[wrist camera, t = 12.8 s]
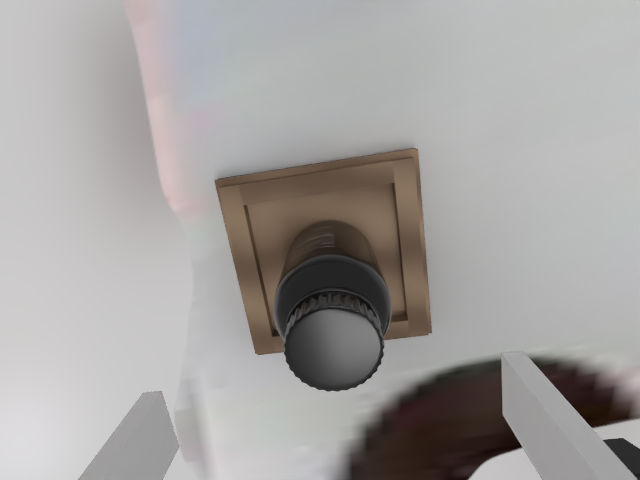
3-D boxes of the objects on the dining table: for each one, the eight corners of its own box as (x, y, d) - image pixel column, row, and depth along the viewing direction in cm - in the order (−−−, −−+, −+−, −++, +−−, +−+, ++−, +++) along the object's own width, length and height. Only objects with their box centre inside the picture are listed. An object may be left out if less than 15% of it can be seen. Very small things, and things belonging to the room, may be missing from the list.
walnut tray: (428, 326, 31) (435, 339, 29) (258, 347, 32) (253, 360, 30) (414, 148, 26) (421, 149, 25) (218, 178, 28) (210, 182, 26)
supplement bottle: (282, 293, 29) (251, 398, 18) (294, 212, 27) (267, 270, 16) (365, 306, 29) (388, 419, 18) (383, 226, 27) (421, 295, 16)
